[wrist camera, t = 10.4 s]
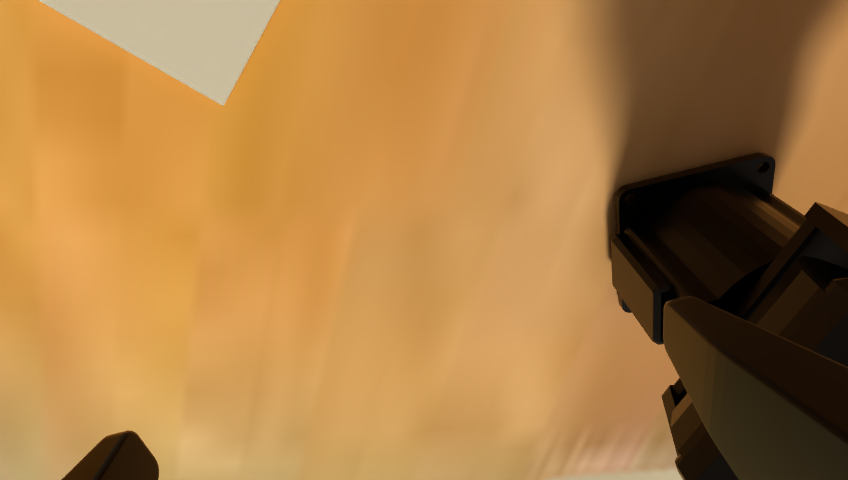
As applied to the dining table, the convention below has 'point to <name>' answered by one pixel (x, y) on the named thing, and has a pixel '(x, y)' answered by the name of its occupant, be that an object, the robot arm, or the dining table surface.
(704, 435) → the robot arm
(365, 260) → the dining table surface
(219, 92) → the mat
